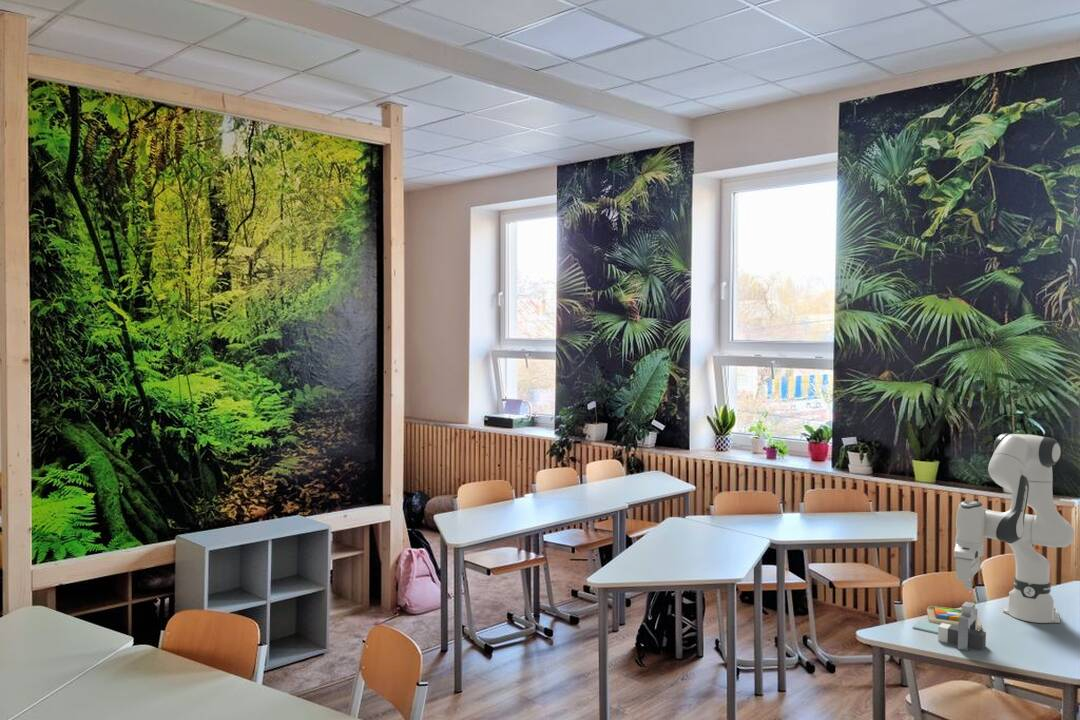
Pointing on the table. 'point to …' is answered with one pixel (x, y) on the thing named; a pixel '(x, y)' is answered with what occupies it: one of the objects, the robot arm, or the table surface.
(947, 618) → the wooden puzzle
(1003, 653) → the table surface
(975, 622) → the housing
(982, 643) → the plug
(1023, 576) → the robot arm
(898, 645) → the table surface
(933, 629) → the mat
